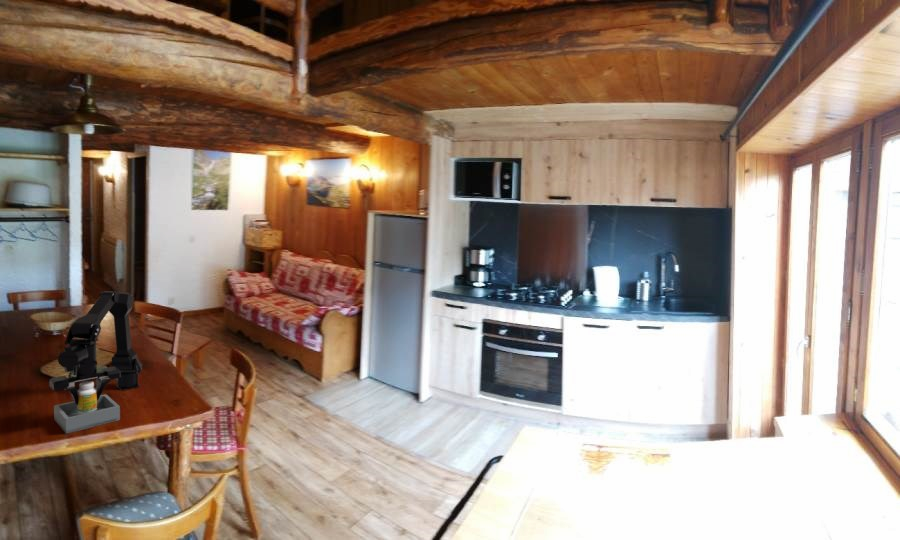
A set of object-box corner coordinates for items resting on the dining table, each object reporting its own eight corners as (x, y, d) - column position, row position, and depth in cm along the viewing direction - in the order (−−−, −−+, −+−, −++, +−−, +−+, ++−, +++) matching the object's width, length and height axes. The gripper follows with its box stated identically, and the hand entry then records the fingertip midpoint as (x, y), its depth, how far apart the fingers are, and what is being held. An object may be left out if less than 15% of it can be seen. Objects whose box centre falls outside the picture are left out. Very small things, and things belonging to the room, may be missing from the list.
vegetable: (69, 384, 194) (68, 372, 194) (68, 380, 198) (67, 368, 197) (111, 377, 203) (110, 366, 203) (109, 374, 207) (109, 362, 207)
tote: (106, 407, 176) (106, 394, 176) (120, 419, 168) (119, 406, 167) (54, 419, 165) (53, 405, 164) (66, 433, 156) (65, 419, 155)
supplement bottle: (81, 415, 162) (80, 387, 161) (74, 410, 165) (73, 383, 164) (100, 409, 167) (99, 382, 165) (92, 405, 169) (92, 378, 168)
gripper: (110, 347, 175) (111, 388, 178) (44, 357, 161) (46, 402, 163) (121, 354, 169) (121, 397, 171) (53, 366, 154) (55, 412, 156)
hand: (87, 401), depth 165 cm, fingers closed on supplement bottle, 5 cm apart
